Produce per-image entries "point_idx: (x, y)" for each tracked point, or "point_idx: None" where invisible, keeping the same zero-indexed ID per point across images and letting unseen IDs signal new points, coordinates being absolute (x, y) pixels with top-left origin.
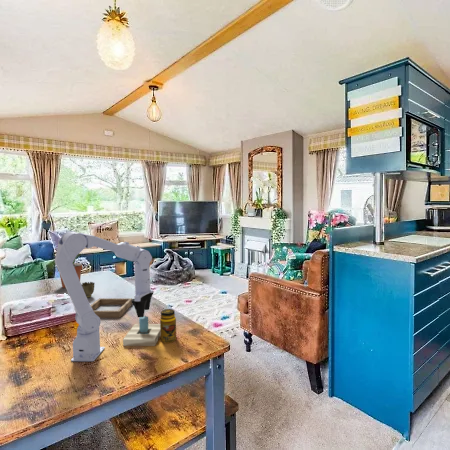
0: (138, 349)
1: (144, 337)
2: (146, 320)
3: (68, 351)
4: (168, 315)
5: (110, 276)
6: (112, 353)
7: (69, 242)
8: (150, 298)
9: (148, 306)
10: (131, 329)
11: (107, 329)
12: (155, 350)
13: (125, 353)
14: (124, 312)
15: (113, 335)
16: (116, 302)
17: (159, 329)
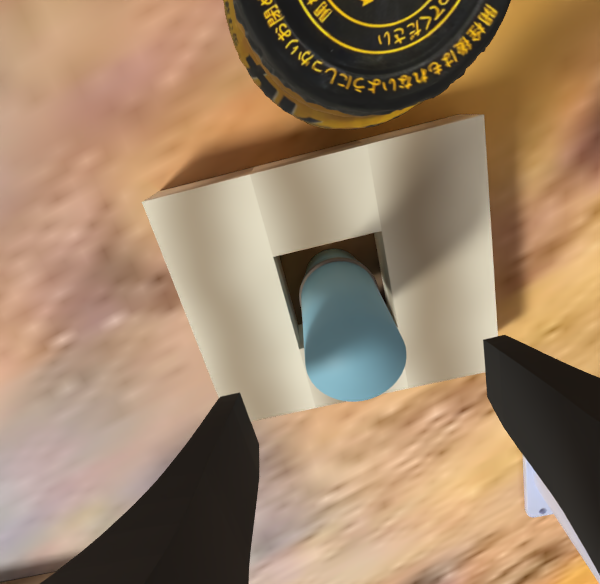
0: (524, 216)
1: (454, 230)
2: (374, 308)
3: (558, 547)
4: None
5: None
6: (582, 348)
7: None
8: (185, 516)
9: (233, 425)
10: (329, 398)
11: (282, 533)
12: (536, 67)
13: (583, 273)
14: (22, 578)
15: (349, 466)
16: None
17: (268, 177)
